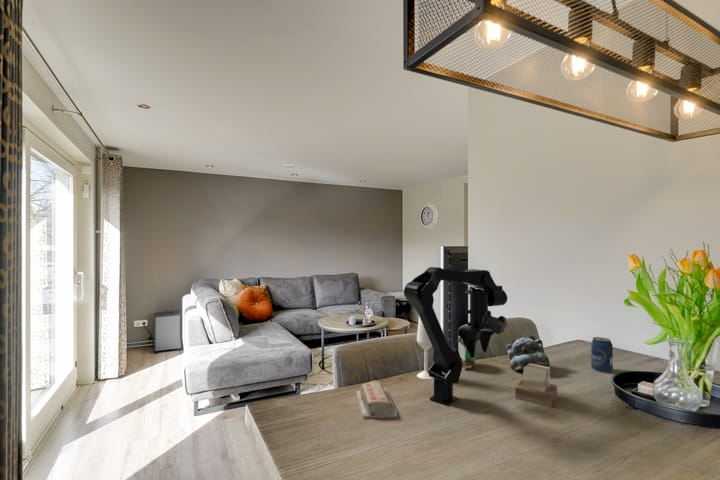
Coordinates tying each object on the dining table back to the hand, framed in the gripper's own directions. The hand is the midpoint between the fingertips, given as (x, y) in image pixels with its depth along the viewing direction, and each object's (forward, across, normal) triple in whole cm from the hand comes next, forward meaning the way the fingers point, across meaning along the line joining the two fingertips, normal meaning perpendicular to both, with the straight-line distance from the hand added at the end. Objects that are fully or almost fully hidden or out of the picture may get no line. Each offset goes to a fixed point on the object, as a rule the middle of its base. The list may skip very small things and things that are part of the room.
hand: (478, 354), depth 120 cm
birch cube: (+8, +7, -16) cm, 19 cm away
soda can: (+12, +51, -26) cm, 59 cm away
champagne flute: (+12, 0, +20) cm, 24 cm away
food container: (+12, +21, +14) cm, 28 cm away
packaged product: (+13, -31, +19) cm, 38 cm away
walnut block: (+12, +7, -16) cm, 21 cm away
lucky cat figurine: (+12, +33, -4) cm, 35 cm away
